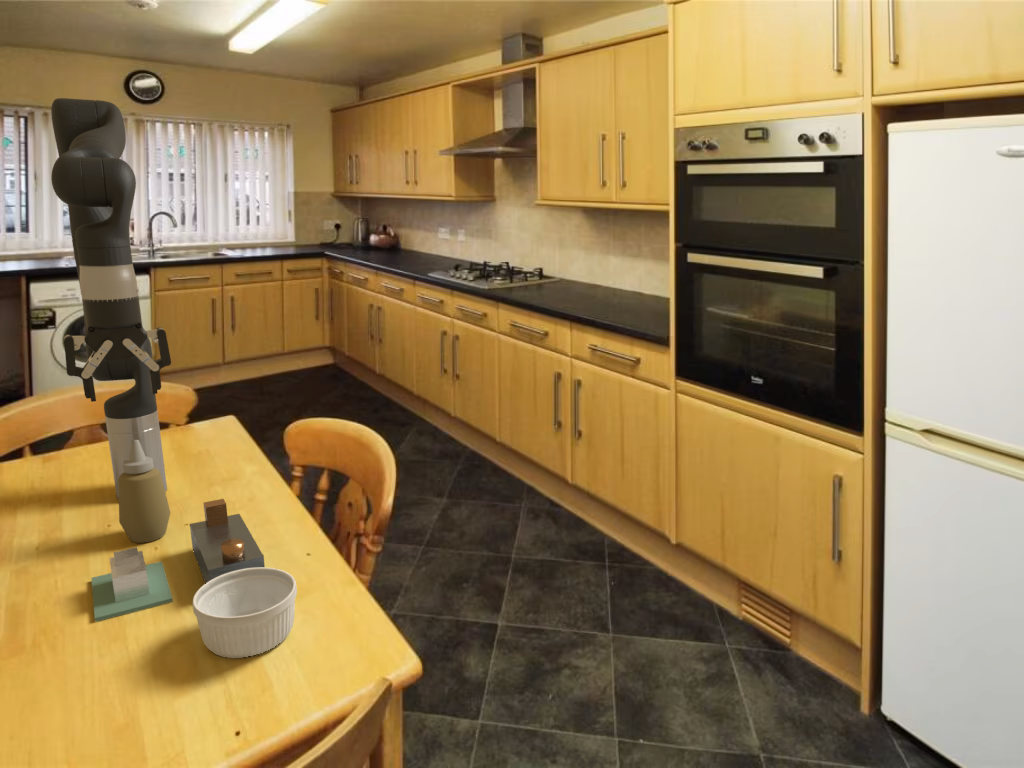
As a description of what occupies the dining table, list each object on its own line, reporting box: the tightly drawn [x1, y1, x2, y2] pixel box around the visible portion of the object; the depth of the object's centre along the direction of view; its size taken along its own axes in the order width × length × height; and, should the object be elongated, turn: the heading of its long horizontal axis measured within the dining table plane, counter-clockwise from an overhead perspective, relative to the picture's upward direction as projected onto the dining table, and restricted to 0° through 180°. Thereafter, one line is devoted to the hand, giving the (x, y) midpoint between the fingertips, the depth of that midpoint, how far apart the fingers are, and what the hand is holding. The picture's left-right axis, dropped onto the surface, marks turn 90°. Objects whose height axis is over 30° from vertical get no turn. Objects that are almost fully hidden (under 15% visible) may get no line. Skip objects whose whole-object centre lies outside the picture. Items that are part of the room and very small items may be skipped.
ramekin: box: [192, 566, 298, 659], centre depth 95 cm, size 13×13×7 cm
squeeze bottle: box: [118, 440, 171, 544], centre depth 122 cm, size 8×8×18 cm
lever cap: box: [108, 546, 150, 602], centre depth 106 cm, size 7×4×5 cm, turn 32°
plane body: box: [189, 498, 266, 584], centre depth 113 cm, size 18×8×9 cm, turn 32°
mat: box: [91, 560, 174, 623], centre depth 107 cm, size 13×10×1 cm
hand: (124, 396), depth 110 cm, fingers open, 8 cm apart
